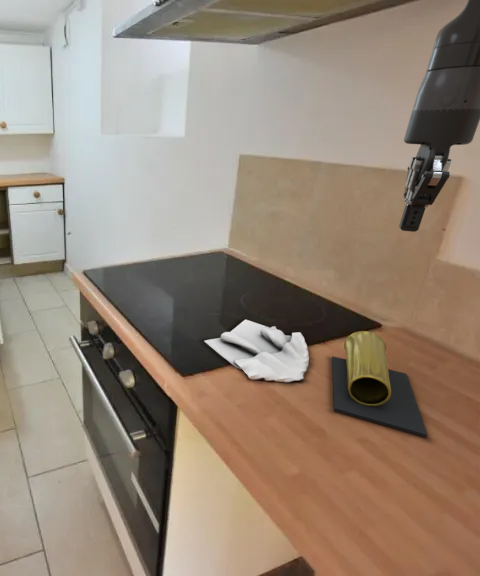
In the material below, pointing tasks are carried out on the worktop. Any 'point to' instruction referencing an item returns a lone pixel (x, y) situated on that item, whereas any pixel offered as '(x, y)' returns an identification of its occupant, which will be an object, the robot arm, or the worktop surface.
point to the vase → (367, 368)
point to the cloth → (263, 352)
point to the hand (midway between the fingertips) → (407, 230)
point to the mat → (392, 414)
